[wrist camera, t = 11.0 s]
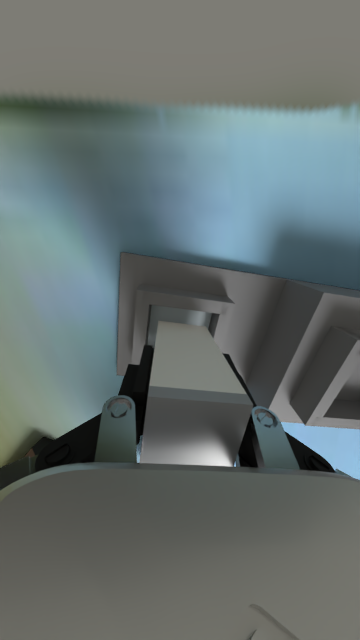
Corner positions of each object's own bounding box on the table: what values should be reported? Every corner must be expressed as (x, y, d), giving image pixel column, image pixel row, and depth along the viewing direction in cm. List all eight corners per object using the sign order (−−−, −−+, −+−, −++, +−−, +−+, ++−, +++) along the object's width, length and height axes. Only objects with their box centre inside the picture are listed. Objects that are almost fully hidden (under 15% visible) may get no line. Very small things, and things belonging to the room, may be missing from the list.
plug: (205, 326, 16) (253, 405, 7) (197, 367, 17) (229, 478, 8) (158, 320, 15) (147, 396, 7) (153, 363, 16) (137, 475, 8)
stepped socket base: (387, 295, 18) (508, 326, 11) (328, 389, 23) (391, 449, 16) (123, 252, 15) (88, 261, 9) (118, 370, 20) (94, 432, 13)
